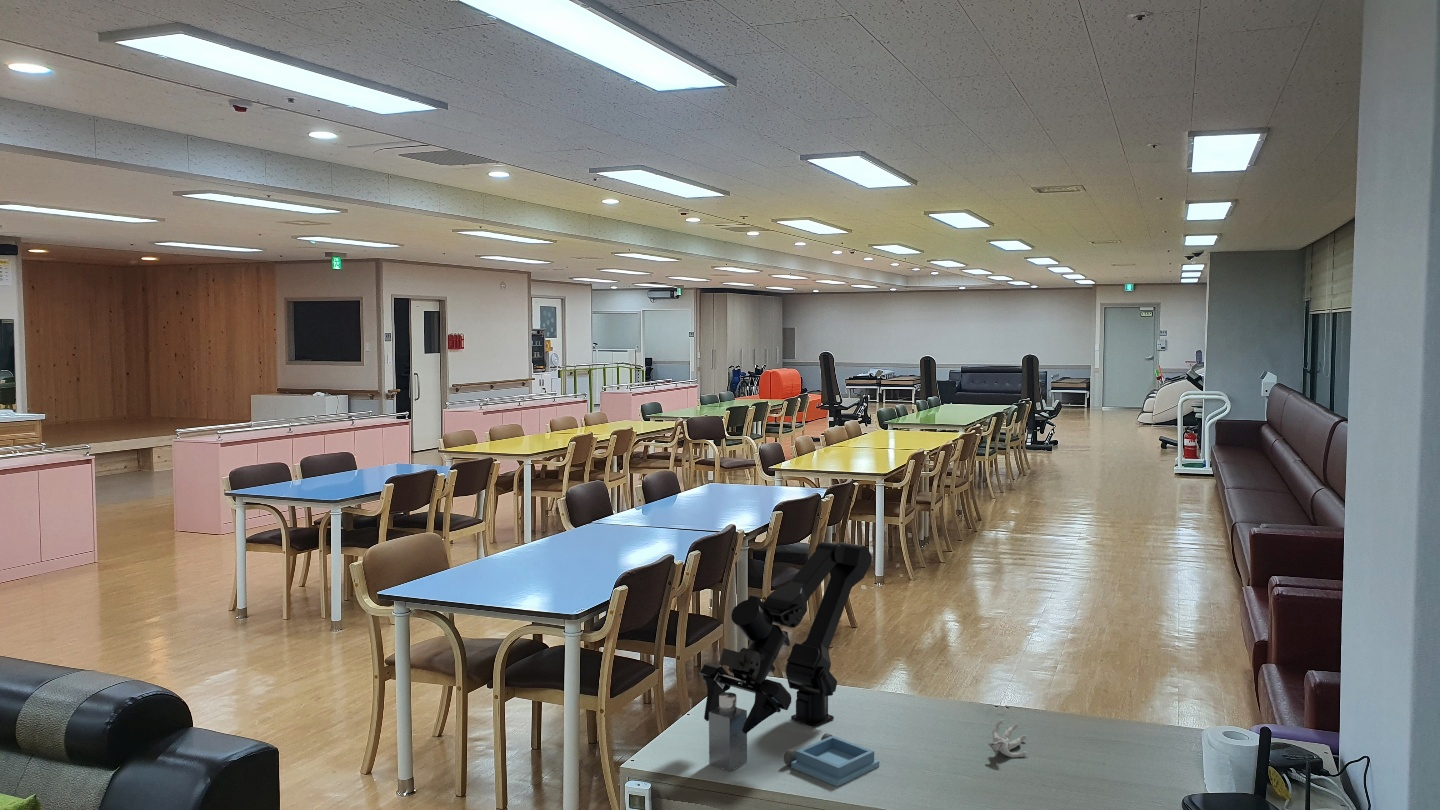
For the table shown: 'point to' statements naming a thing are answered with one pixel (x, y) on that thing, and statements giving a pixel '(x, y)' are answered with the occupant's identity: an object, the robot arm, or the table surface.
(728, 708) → the square bottle with cap
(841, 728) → the table surface
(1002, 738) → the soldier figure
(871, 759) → the chassis
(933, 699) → the table surface
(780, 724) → the table surface
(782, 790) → the table surface
